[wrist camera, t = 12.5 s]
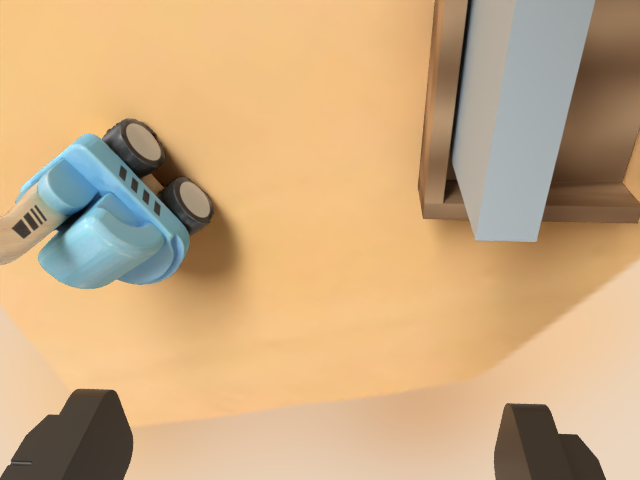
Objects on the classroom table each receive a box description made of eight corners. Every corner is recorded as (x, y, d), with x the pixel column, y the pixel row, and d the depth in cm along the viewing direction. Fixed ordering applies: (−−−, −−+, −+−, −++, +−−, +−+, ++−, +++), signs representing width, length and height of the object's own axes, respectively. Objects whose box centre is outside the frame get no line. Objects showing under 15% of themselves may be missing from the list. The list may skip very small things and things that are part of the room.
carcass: (447, -140, 29) (461, -143, 25) (718, -147, 28) (779, -151, 24) (418, 187, 40) (423, 222, 36) (611, 190, 39) (640, 227, 35)
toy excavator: (63, 30, 36) (-137, 128, 22) (228, 210, 43) (158, 375, 29) (-11, 101, 39) (-228, 227, 25) (153, 258, 46) (57, 427, 32)
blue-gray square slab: (469, -54, 31) (519, -21, 21) (524, -55, 30) (600, -22, 20) (446, 143, 37) (475, 240, 27) (490, 144, 37) (536, 241, 27)
